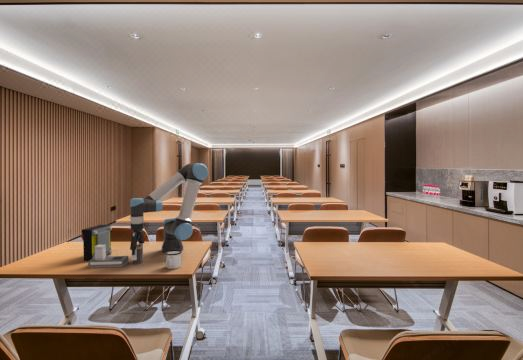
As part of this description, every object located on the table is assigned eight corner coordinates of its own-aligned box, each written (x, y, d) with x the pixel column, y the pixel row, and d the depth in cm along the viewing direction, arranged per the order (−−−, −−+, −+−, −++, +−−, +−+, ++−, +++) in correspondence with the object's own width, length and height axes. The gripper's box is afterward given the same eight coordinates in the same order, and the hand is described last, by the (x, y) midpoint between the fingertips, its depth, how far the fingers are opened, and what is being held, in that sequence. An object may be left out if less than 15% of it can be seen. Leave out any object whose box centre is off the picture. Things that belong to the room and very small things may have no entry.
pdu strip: (128, 262, 192) (128, 255, 192) (123, 266, 183) (123, 260, 182) (95, 263, 190) (95, 256, 190) (88, 267, 181) (88, 261, 181)
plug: (142, 261, 193) (142, 244, 193) (140, 263, 189) (140, 246, 188) (135, 261, 193) (134, 244, 192) (132, 263, 188) (132, 246, 188)
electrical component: (95, 261, 193) (94, 230, 192) (81, 260, 195) (80, 229, 194) (113, 253, 210) (113, 225, 210) (100, 253, 212) (100, 224, 212)
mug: (167, 264, 187) (167, 250, 187) (183, 264, 187) (183, 249, 187) (162, 271, 175) (162, 255, 175) (178, 270, 175) (178, 255, 175)
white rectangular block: (106, 262, 188) (105, 244, 188) (102, 264, 184) (102, 246, 183) (98, 262, 188) (97, 244, 187) (94, 264, 183) (94, 246, 183)
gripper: (137, 219, 202) (137, 251, 203) (123, 226, 177) (124, 263, 178) (148, 219, 203) (149, 251, 203) (137, 226, 178) (137, 262, 179)
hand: (137, 256), depth 191 cm, fingers open, 13 cm apart
